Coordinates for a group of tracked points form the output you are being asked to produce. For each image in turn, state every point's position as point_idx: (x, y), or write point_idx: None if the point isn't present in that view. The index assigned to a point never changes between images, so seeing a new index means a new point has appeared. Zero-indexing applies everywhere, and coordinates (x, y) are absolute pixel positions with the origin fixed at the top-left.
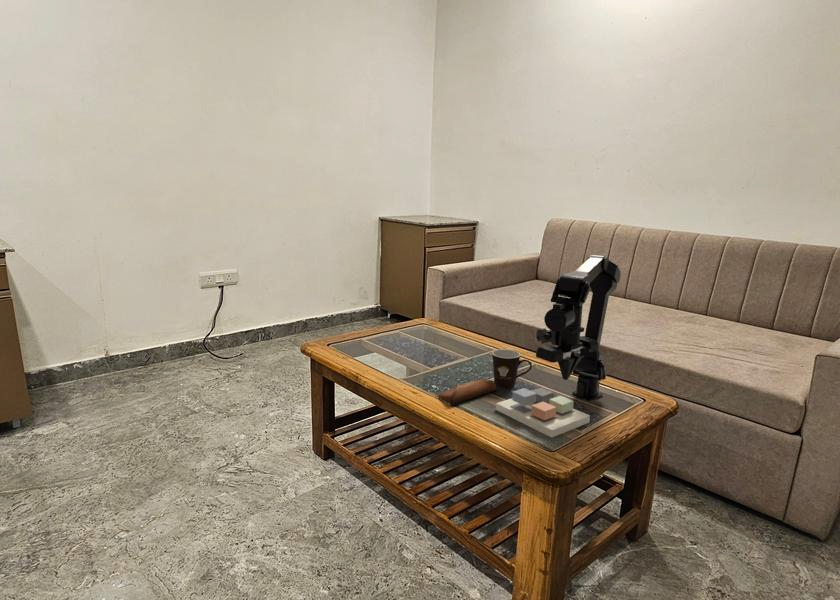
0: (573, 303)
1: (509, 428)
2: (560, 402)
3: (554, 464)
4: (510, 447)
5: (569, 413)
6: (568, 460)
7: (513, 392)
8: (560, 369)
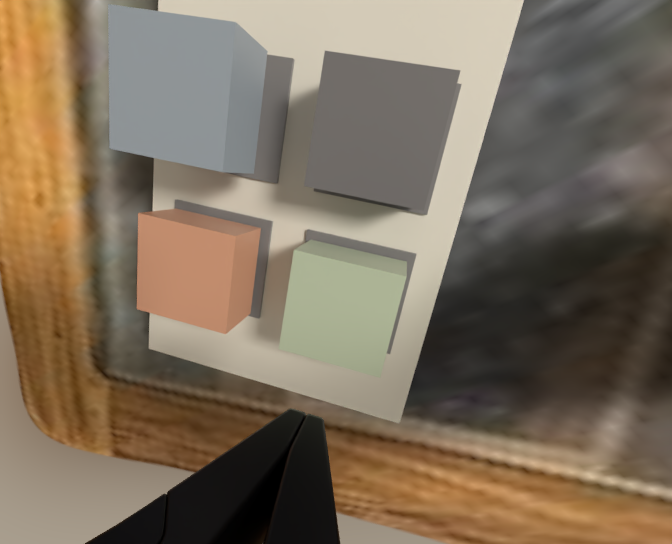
0: None
1: (101, 163)
2: (300, 325)
3: (54, 405)
4: (13, 255)
5: None
6: (100, 428)
7: (113, 16)
8: (194, 477)
